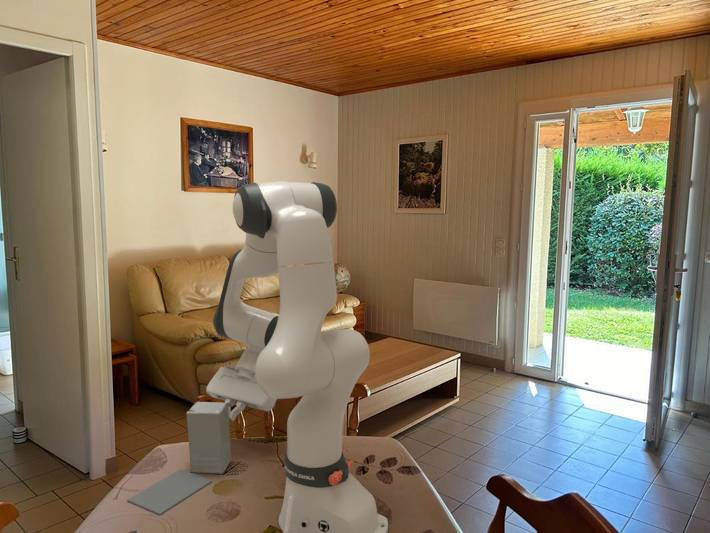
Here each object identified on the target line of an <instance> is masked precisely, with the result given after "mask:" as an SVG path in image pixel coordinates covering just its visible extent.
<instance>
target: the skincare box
mask: <svg viewBox="0 0 710 533" xmlns="http://www.w3.org/2000/svg"><path fill="white" fill-rule="evenodd" d="M186 422H187V423H186V424H187V436H188V437H187V438H188V450H189V451H188V452H189V453H188V454H189V463H190V473H193V474H197V473H199V474H224V473H225V471H226V469H227V467H228V466H229V465H230V463H231V461H232V448H231V447H232V446H231V432H230V419H229V415H228V403H225V402H222V401H220V402H218V401H215V402H213V401H212V402H211V401H196V402H195V403H194V405H193V404H192V406H191V408H190V409H189V410H187V412H186Z"/></svg>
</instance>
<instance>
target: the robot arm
mask: <svg viewBox="0 0 710 533" xmlns="http://www.w3.org/2000/svg"><path fill="white" fill-rule="evenodd" d="M233 196H234V197H233V202H232V214H233V217H234V220H235V223H236V226H237V227H238V228H239V229H240V230H241V231H242V232H244V233H245V240H244V245H243V247H242V249H238V250H237V251H236V252H235V253H233V256H232V257H231V259H230V261H229V264H228V266H227V270H226V274H225V277H224V282H223V284H222V290H221V294H220V297H219V302H218V304H217V307H216V309H215V311H214V312H215V313H214V314H213V315H214V316H213V318H212V325H213V327H214V330H215V332H216V334H217V336H219V337H221V338H226V339H230V340H234V341H237V342H240V343H242V344H245V345H248V346H247V348H246V349H245V350H244V351H243V352H242V354H241V356H240V357H239V360H238V361H237V363H236V364H235V365H231V364H226V365H223V366H221V367H219V369H218V371H216V373H215V374H214V375H213V377H212V378H211V379H210V381H209V382H208V384H207V386H206V388H205V389H206V393H207V394H208V395H209V396H210V397H212V398H214V399H218V400H223V401H224V403H228V415H229V421H235V420H236V418H237V416H238V415H239V414H240V413H242V412H243V411H244V410H245V408H246V407H247V408H248V407H249V408H252V409H256V410H260V411H264V412H270V411H271V410H273V408H274V407H275V405H276V402H277V400H278V399H279V400H282V399H283V400H284V399H296V398H300V397H301V399H300V400H299V401H298V403H297V404H296V405H295V406H294V408H293V409H292V410H291V412H290V413H289V415H288V418H287V423H286V433H287V434H286V436H287V437H286V438H287V439H286V440H287V441H286V452H285V453H284V454H285V455H284V474H285V476H286V480H285V488H284V495H283V496H284V497H283V502H282V507H281V510H280V513H279V516H278V524H279V525H278V526H279V527H280V529H281V530H282V533H388V531H389V521H388V518H387V517H385V516H384V515H382V514H380V513H378V508H377V502H376V499H375V497H374V495H373V494H372V493H371V492H370V491H368V489H367V488H366V487H364V485H362V484H361V482H360V481H359V480H358V479H356V477H355V476H354V475H353V474H352V473H350V468H351V467H353V465H354V463H353V461H354V459H351V460H349V461H348V462H347V460H346V457H345V454H344V451H343V450H342V448H343V447H342V446H343V430H344V418H345V414H346V410H347V406H348V403H349V400H350V397H351V394H352V392H353V389H354V388H355V386H356V383H357V382H358V381H359V378H360V377H361V375H362V374H363V373H364V372H365V371H366V369H367V368H368V366H369V363H370V357H371V354H370V352H371V351H370V346H369V344H368V342H367V340H366V338H365V336H363V335H362V334H361V333H360V332H359V331H357V330H354V329H343V328H341V329H340V328H334V329H329V330H325V331H322V327H323V323H324V321H325V319H326V317H327V315H328V313H329V312H330V311H331V310H332V309H333V308H334V307H335V305H336V303H337V299H338V292H337V282H336V271H335V263H334V254H333V248H332V243H331V237H330V233H329V230H328V228H330V227H332V225H333V224H334V222H335V220H336V217H337V212H338V203H337V198H336V195H335V192H334V191H333V189H332V188H331V187H330V186H329V185H327V184H324V183H320V182H315V181H312V182H311V183H309V182H301V181H300V182H299V181H287V180H281V181H279V180H278V181H277V180H275V181H268V182H260V183H257V182H250V183H246V184H243V185H240V186H239V187H238V188H237V190H236V191H235V194H234V195H233ZM277 274H278V282H279V283H278V285H279V286H278V287H279V301H280V302H279V313H277V312H276V313H275V312H269V311H267V310H263V309H260V308H257V307H254V306H251V305H249V304H246V303H245V302H244V301H243V300H242V299H241V295H242V292H243V288H244V286H245V285H244V284H245V280H246V279H255V278H256V279H257V278H258V279H259V278H260V279H261V278H263V279H264V278H268V277H272V276H275V275H277ZM234 405H236V406H235V407H234ZM232 407H234V408H233V409H232Z"/></svg>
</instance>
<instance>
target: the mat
mask: <svg viewBox="0 0 710 533" xmlns="http://www.w3.org/2000/svg"><path fill="white" fill-rule="evenodd" d="M211 483H213V480H212V479H209V478H207V477H204V476H201V475H198V474H197V473H193V472H191V471H187V470H185V469H182V468H179V470H177V471H175V472H173V473H171V474H170V475H168V476H166V477H164V478H162V479H161V480H159V481H158V482H156V483H154V484H152V485H150V486H149V487H146V488H145V489H143V490H142V491H140V492H138V493H136V494H135V495H133V496H132V497H129V498H128V499H126V500H127V502H128V503H130V504H133V505H135V506H137V505H138V506H137V507H139V506H140V507H139V508H141V507H142V508H141V509H144V510H146V511H149V512H151V513H153V514H156V515H157V516H162V515H163V514H165V513H166V512H168V511H170V510H171V509H173V508H174V507H175V506H177V505H179V504H181V503H182V502H184V501H185V500H187V499H189V497H191V496H193V495H194V494H196V493H197V492H199V491H200V490H202V489H204V488H205V487H207V486H208V485H210V484H211Z"/></svg>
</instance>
